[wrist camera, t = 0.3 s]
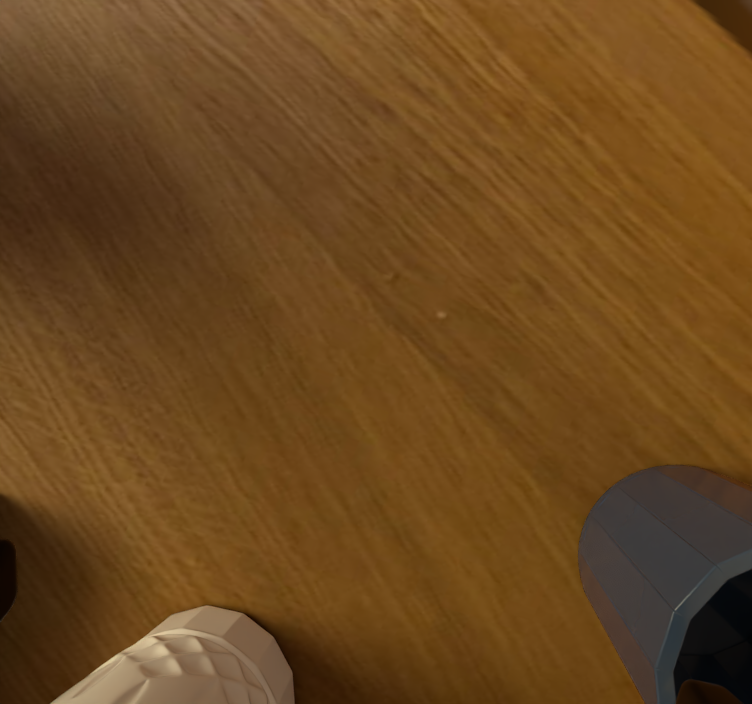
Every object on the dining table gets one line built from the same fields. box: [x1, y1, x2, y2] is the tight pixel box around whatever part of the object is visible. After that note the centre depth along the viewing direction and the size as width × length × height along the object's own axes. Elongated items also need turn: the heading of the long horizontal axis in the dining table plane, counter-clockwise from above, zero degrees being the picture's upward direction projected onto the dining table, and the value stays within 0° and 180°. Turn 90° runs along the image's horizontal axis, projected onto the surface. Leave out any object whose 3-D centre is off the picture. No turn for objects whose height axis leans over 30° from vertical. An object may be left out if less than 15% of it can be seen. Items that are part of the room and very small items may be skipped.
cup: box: [578, 465, 752, 704], centre depth 16 cm, size 7×7×8 cm
